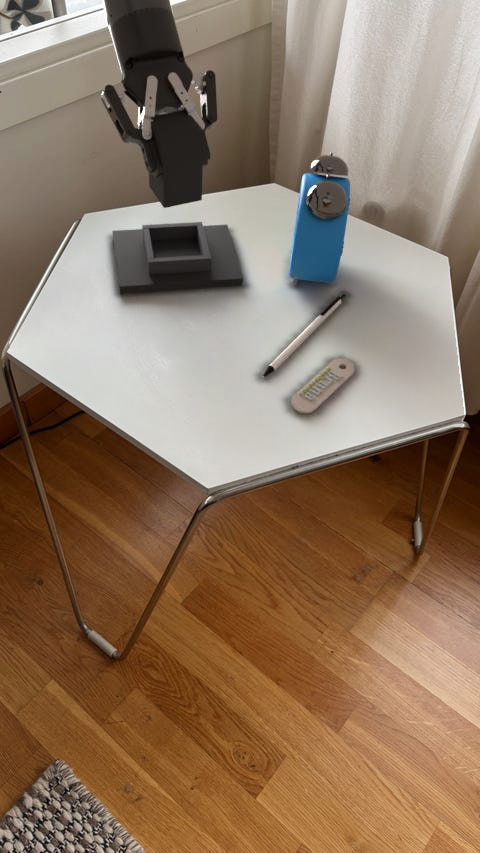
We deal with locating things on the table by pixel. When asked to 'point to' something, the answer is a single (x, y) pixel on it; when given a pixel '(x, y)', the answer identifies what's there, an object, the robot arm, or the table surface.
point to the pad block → (178, 159)
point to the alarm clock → (320, 221)
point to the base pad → (175, 258)
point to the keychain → (322, 386)
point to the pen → (303, 335)
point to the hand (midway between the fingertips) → (181, 170)
